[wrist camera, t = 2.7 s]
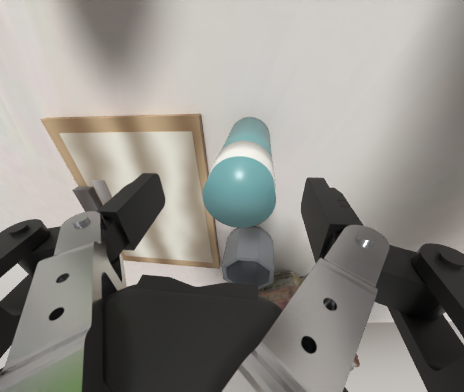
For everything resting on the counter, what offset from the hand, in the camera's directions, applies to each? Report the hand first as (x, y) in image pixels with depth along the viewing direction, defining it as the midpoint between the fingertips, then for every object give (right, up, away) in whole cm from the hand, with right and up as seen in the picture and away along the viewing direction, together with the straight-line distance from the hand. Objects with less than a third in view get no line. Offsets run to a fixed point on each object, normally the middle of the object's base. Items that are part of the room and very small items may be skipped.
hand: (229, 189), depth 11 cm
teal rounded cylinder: (+2, +6, +9) cm, 11 cm away
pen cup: (+3, -7, +18) cm, 20 cm away
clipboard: (-11, -2, +17) cm, 20 cm away
